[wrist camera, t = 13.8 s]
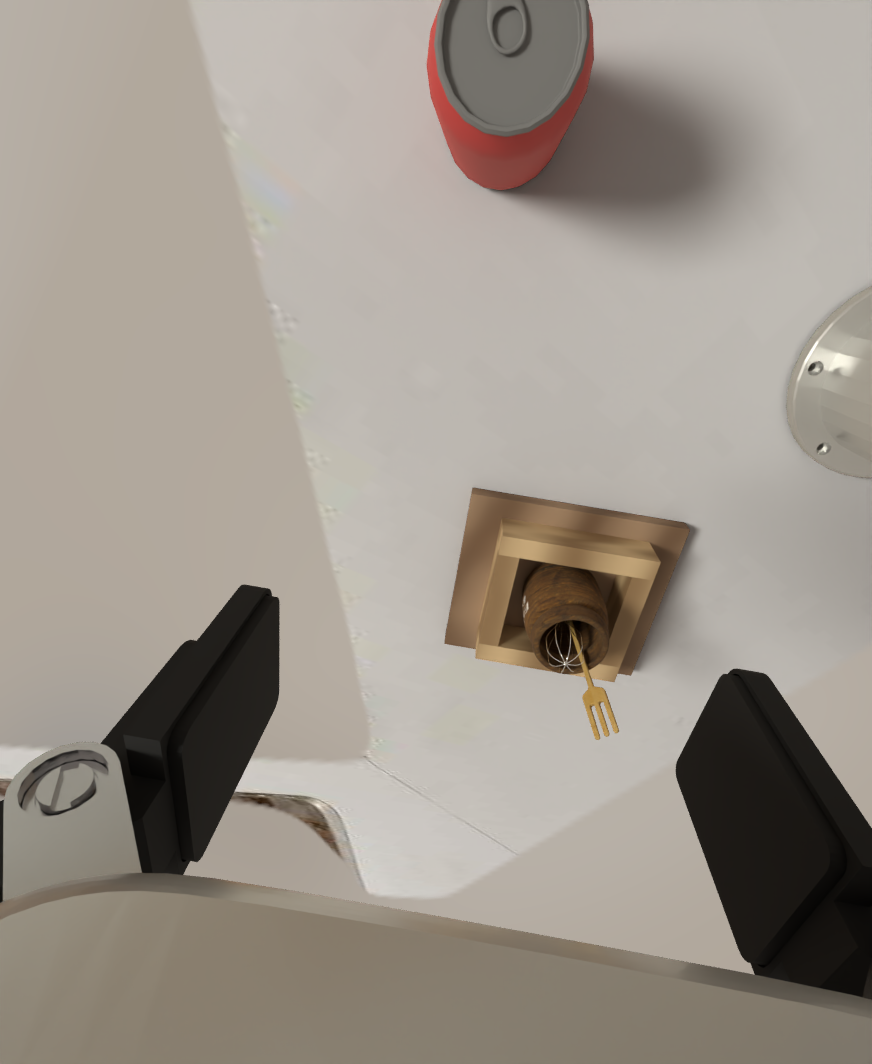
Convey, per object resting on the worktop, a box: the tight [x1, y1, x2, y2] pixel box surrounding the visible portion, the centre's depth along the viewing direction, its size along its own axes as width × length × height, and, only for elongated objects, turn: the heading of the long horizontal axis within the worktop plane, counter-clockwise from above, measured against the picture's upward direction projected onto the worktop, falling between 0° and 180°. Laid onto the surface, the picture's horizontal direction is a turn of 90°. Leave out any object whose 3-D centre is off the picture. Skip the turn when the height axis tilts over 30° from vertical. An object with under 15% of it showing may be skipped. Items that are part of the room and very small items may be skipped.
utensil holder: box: [522, 563, 619, 740], centre depth 36 cm, size 6×6×12 cm
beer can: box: [427, 0, 594, 190], centre depth 24 cm, size 7×7×12 cm
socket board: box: [444, 488, 690, 682], centre depth 41 cm, size 16×14×4 cm
